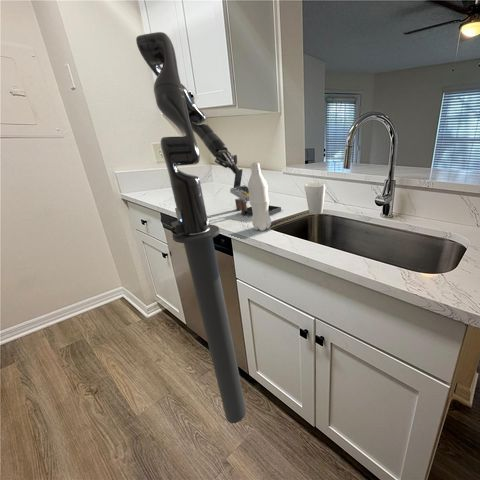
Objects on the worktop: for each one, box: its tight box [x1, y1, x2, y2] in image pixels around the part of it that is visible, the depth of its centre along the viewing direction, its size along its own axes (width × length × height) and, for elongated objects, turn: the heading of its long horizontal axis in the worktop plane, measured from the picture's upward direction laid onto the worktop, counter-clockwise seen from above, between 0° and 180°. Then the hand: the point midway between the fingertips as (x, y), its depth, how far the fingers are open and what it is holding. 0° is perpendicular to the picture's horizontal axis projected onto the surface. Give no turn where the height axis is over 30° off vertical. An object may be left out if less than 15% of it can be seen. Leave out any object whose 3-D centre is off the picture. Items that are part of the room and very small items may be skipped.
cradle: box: [234, 197, 248, 216], centre depth 126 cm, size 10×15×7 cm
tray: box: [240, 205, 282, 217], centre depth 123 cm, size 14×12×2 cm
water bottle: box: [247, 162, 272, 232], centre depth 98 cm, size 7×7×25 cm
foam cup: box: [304, 182, 326, 216], centre depth 119 cm, size 10×9×13 cm
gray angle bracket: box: [229, 168, 250, 204], centre depth 122 cm, size 12×12×11 cm
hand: (237, 172), depth 122 cm, fingers closed
